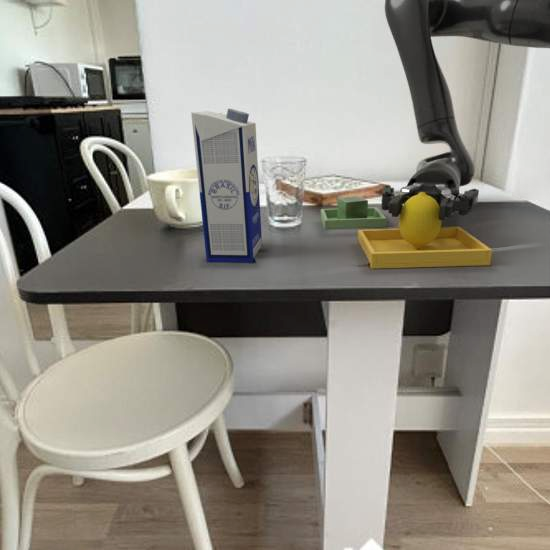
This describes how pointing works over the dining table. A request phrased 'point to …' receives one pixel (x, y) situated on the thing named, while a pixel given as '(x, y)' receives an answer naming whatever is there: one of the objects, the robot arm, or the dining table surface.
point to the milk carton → (228, 185)
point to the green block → (352, 207)
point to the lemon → (419, 220)
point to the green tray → (353, 220)
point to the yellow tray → (423, 249)
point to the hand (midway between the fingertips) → (418, 211)
